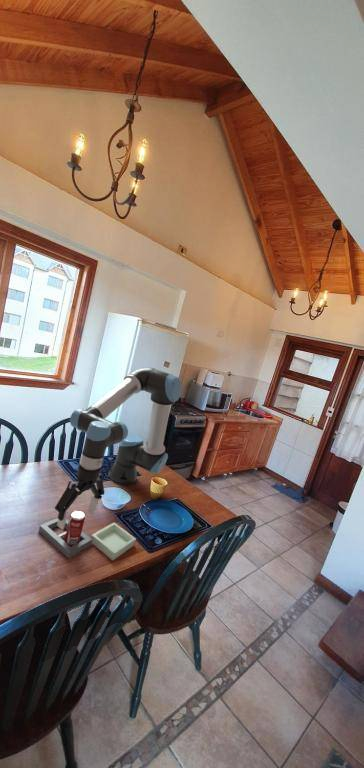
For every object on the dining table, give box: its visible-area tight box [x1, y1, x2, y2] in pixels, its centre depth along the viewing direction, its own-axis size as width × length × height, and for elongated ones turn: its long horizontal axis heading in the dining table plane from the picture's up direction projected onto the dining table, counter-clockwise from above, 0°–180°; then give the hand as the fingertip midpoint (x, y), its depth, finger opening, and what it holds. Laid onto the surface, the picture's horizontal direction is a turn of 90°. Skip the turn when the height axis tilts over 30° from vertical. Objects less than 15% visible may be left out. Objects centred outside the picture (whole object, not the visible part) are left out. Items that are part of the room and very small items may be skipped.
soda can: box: [64, 510, 86, 547], centre depth 111 cm, size 5×5×12 cm
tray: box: [90, 522, 137, 561], centre depth 117 cm, size 12×12×3 cm
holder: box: [38, 517, 92, 559], centre depth 113 cm, size 17×10×2 cm, turn 59°
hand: (76, 519), depth 110 cm, fingers open, 13 cm apart
